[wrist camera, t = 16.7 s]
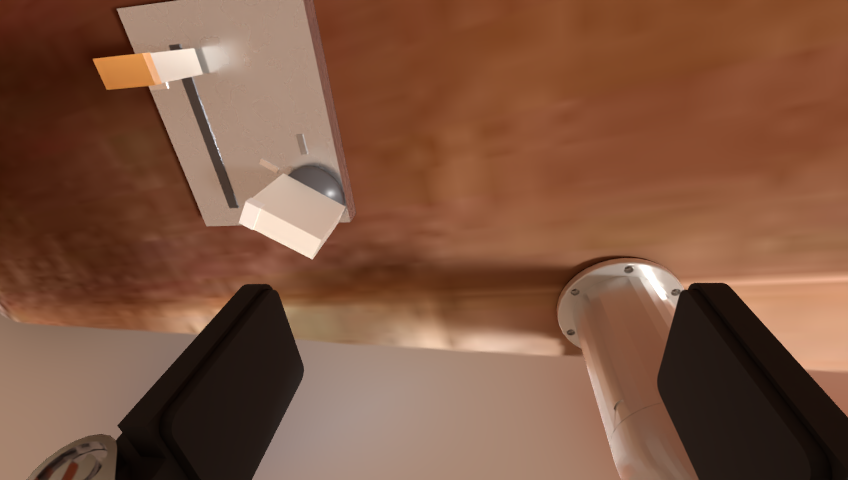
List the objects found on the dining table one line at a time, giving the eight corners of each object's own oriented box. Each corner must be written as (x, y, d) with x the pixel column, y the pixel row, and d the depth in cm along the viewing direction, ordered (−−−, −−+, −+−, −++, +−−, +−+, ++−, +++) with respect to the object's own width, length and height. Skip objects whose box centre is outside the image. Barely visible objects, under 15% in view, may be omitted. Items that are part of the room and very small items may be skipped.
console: (356, 213, 41) (350, 222, 39) (217, 217, 43) (205, 226, 42) (310, -15, 31) (299, -17, 29) (135, 9, 34) (115, 8, 32)
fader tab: (203, 74, 33) (155, 85, 28) (161, 79, 34) (106, 90, 29) (194, 47, 32) (142, 53, 27) (150, 52, 33) (92, 58, 28)
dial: (355, 187, 37) (329, 222, 31) (332, 234, 40) (304, 275, 34) (292, 152, 36) (251, 182, 30) (273, 203, 39) (233, 240, 33)
